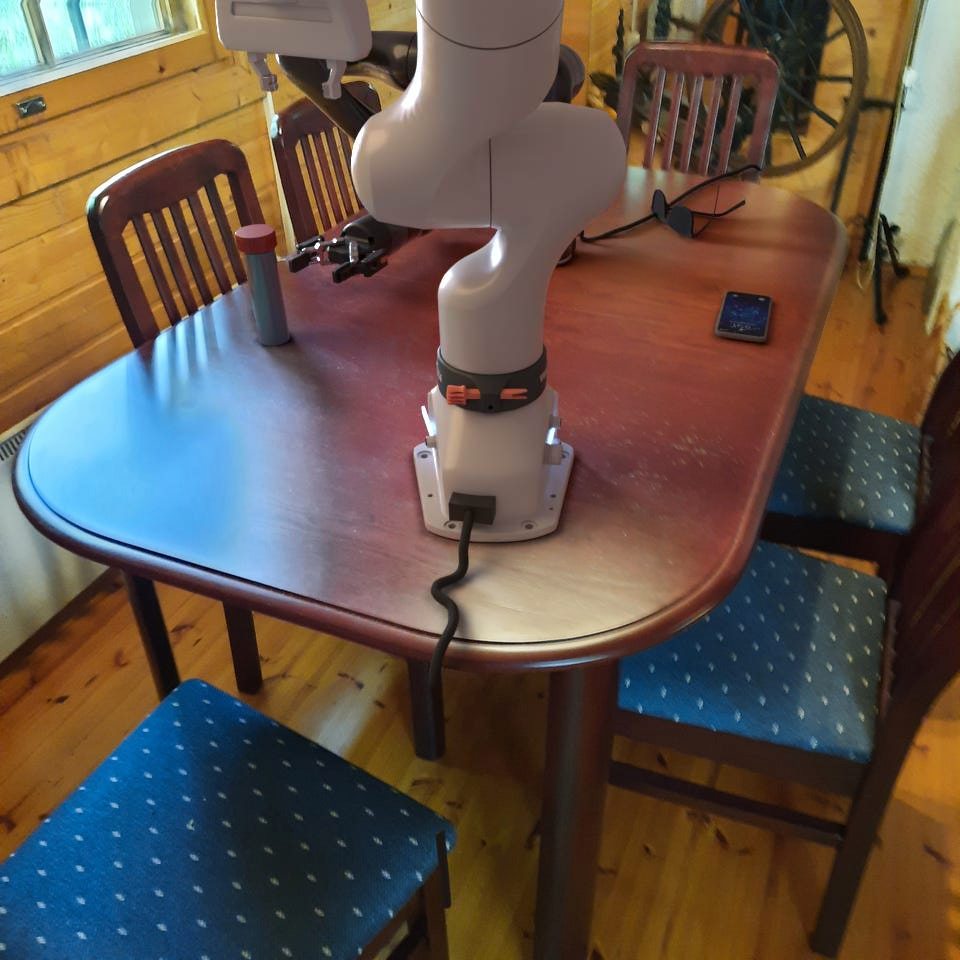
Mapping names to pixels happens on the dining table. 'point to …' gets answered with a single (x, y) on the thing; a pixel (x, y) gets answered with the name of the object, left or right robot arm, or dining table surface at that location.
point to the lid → (256, 239)
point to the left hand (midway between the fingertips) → (301, 94)
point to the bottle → (267, 297)
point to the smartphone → (744, 316)
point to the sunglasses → (682, 214)
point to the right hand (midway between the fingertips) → (312, 272)
